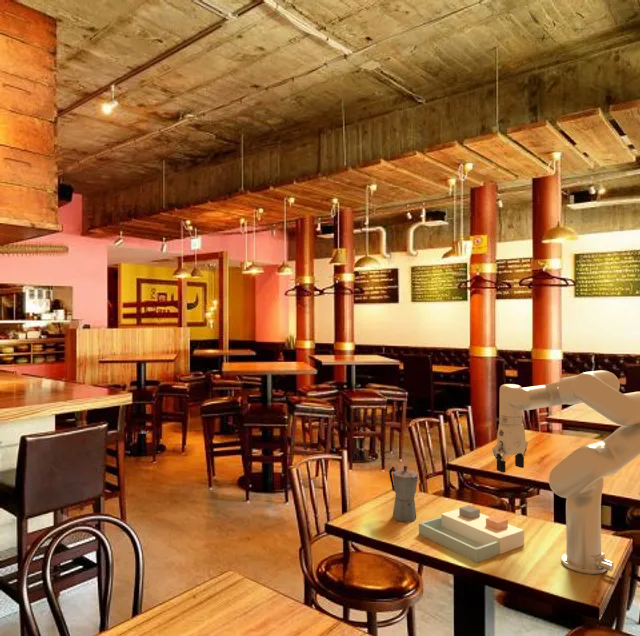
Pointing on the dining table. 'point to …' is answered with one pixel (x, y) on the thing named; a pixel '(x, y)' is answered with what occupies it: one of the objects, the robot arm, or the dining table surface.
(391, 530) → the dining table surface
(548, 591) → the dining table surface
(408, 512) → the moka pot
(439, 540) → the box
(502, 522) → the terracotta tile
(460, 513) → the slate tile
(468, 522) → the board
